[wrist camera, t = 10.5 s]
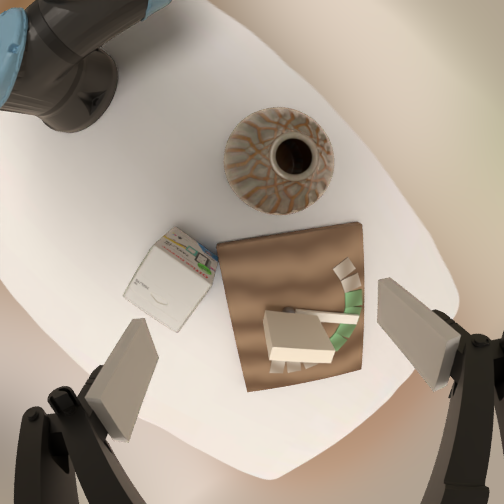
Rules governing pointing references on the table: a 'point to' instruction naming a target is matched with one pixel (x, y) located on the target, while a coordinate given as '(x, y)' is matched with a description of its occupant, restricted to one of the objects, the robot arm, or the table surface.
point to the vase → (278, 161)
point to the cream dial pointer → (301, 334)
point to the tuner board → (295, 297)
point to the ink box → (172, 279)
